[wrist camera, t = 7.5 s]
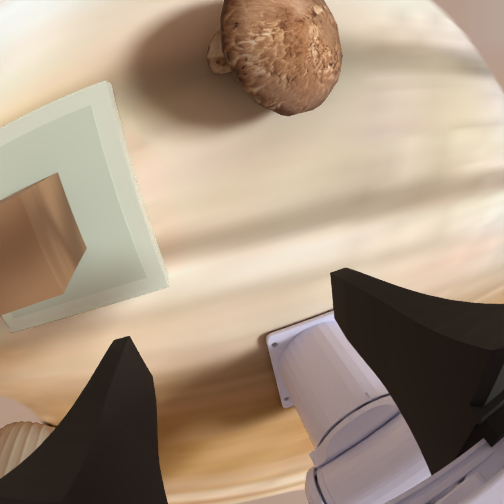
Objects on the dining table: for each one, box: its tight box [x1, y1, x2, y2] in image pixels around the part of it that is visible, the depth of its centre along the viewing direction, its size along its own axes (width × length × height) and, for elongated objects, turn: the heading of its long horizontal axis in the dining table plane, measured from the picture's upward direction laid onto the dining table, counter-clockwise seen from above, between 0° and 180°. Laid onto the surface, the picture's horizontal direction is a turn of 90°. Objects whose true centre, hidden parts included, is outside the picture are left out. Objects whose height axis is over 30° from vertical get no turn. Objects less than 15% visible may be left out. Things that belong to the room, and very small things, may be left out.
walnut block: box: [0, 173, 87, 316], centre depth 13 cm, size 4×4×5 cm
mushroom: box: [207, 0, 342, 116], centre depth 14 cm, size 8×8×6 cm
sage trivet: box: [0, 80, 169, 333], centre depth 16 cm, size 12×12×2 cm
